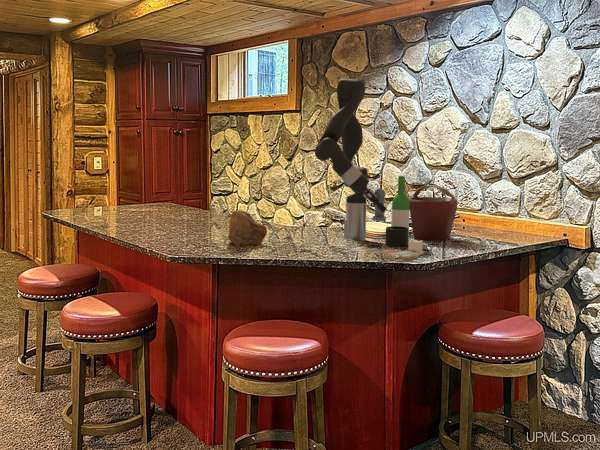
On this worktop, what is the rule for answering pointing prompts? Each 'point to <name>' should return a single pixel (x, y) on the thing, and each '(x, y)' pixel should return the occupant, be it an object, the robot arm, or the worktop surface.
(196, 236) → the worktop surface
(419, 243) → the die
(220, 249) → the worktop surface
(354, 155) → the robot arm
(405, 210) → the wine bottle
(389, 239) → the mug
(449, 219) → the bucket
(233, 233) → the rough brown rock
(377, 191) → the pawn
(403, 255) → the board
